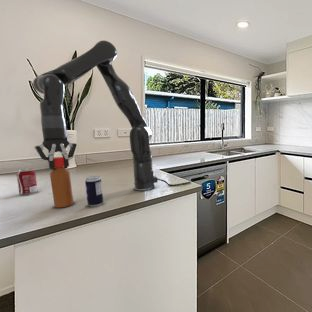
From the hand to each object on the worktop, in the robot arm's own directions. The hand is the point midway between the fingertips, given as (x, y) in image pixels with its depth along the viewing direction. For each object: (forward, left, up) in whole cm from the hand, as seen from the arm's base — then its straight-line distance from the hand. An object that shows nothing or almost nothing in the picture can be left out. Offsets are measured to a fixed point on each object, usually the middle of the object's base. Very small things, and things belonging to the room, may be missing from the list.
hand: (59, 168), depth 91 cm
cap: (0, 0, +1) cm, 1 cm away
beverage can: (-12, +5, -16) cm, 21 cm away
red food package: (+19, -29, -16) cm, 38 cm away
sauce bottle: (0, 0, -16) cm, 16 cm away
